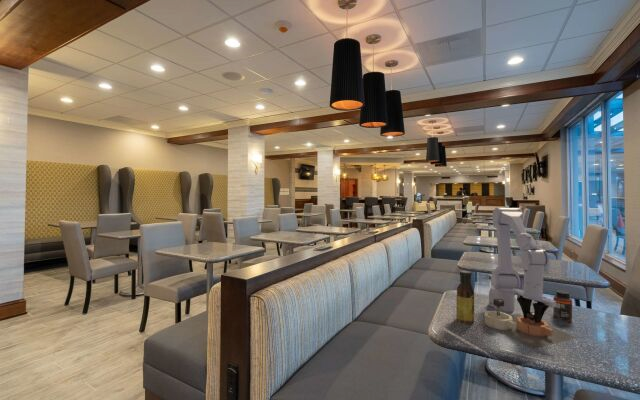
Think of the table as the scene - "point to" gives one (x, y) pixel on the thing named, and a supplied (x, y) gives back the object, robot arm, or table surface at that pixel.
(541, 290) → the robot arm
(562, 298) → the supplement bottle
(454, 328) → the table surface
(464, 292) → the sauce bottle
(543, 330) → the terracotta pot
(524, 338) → the slate board
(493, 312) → the cream pot
